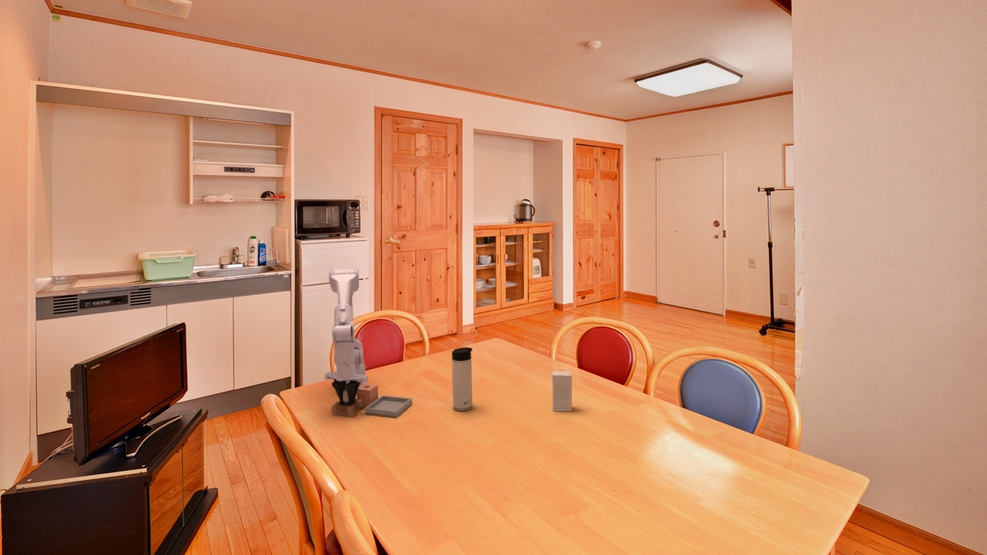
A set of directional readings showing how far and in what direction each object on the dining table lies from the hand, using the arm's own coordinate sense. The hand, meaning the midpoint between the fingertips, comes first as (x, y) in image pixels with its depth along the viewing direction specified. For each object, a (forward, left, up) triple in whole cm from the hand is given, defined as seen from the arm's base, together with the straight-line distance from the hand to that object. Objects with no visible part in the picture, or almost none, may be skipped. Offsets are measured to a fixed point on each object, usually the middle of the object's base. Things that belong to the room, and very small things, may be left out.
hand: (347, 402), depth 153 cm
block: (-7, +3, -3) cm, 8 cm away
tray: (-5, +12, -3) cm, 13 cm away
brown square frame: (0, 0, -3) cm, 3 cm away
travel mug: (-12, +35, -3) cm, 37 cm away
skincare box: (-19, +66, -3) cm, 69 cm away
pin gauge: (0, 0, -2) cm, 3 cm away
